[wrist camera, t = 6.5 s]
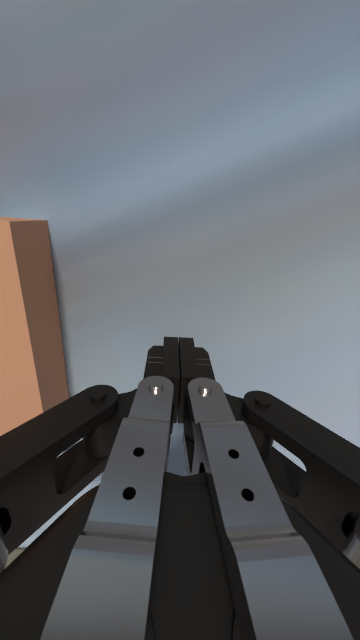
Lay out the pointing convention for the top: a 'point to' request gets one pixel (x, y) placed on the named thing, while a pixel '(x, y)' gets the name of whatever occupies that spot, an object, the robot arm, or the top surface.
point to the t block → (28, 324)
